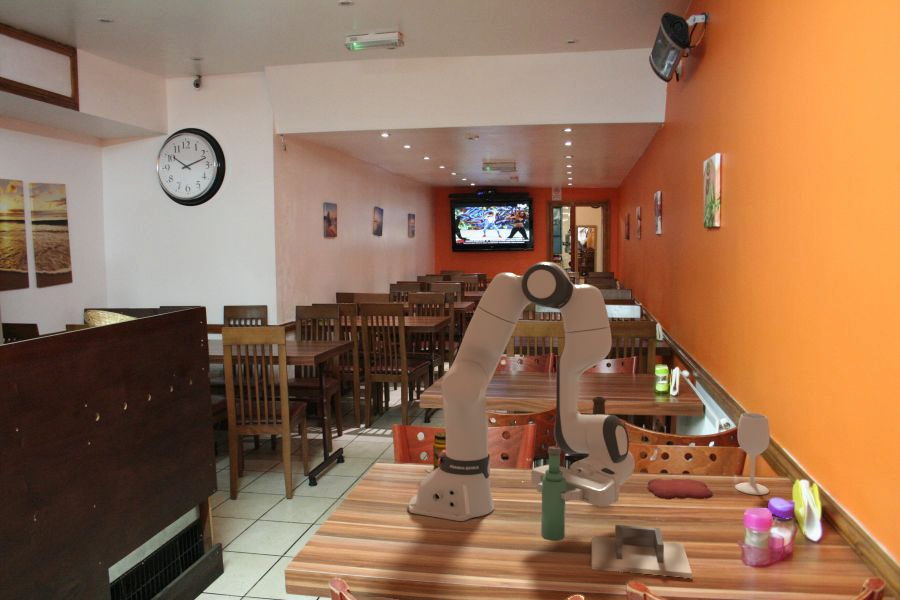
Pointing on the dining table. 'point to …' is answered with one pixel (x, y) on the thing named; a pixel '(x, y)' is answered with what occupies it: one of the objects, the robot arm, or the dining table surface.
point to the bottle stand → (639, 553)
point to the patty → (679, 489)
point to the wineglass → (753, 446)
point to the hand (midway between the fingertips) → (551, 492)
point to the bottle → (553, 499)
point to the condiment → (438, 449)
